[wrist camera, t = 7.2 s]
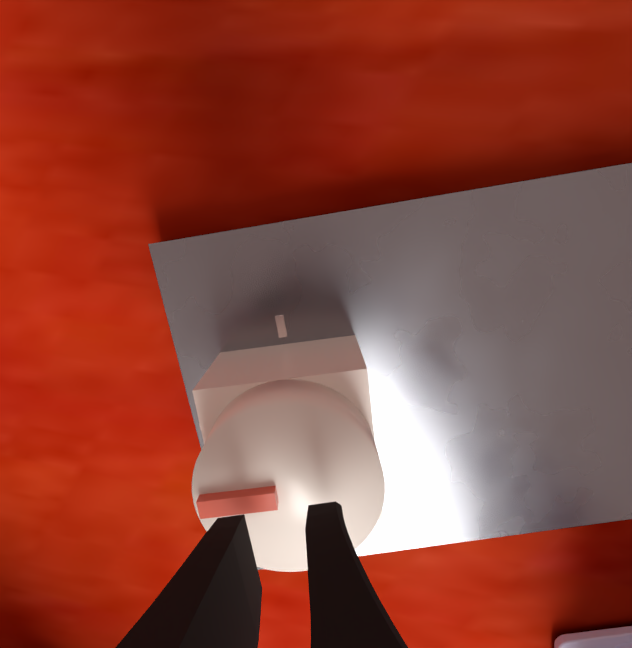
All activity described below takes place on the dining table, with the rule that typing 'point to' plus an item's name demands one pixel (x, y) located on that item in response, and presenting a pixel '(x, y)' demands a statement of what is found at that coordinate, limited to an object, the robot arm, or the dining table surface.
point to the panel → (449, 343)
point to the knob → (287, 444)
